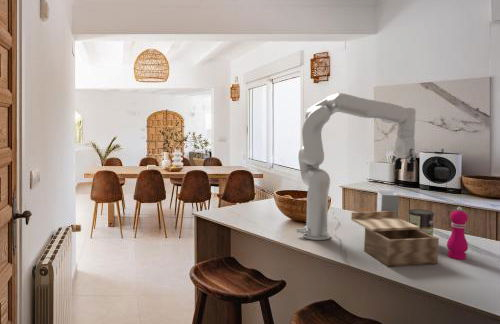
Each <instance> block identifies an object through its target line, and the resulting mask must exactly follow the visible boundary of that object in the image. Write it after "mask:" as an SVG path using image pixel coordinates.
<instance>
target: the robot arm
mask: <svg viewBox="0 0 500 324" xmlns="http://www.w3.org/2000/svg"><path fill="white" fill-rule="evenodd" d="M336 113H343V114H347V115H351V116H355V117H359V118H364V119H365V118H366V119H379V120H381V122H383V123H385V124H397V131H396V132H397V133H396V140H395V142H394V143H395V144H394V151H393V158H394V170H402V163H403V161H402V160H403V159H406V160H407V162H406V172H409V173H410V172H411V173H413V172H414V168H415V162H416V160H417V156H418V153H417V152H416V143H415V133H416V113H417V111H416V109H415V108H413V107H403V106H401V105H398V104H394V103H390V102H385V101H380V100H374V99H368V98H363V97H359V96H355V95H351V94H347V93H343V92H339V93H335V94H331V95H329V96H327V97H326V98H324V99H323V100H321V101H319V102H317V103H315V104H314V105H312V106H310V107H309V108H308V109H307V110H306V112H305V115H304V117H305V118H304V119H305V121H304V122H303V125H302V130H301V137H302V147H300V148H299V151H298V166H299V171H300V176H301V181H302V182H303V183H304V184H305V185H306V186H307V187H308V190H307V195H306V222H305V223H306V225H304V226H303V227H301V228H300V227H297V228H296V229H295V231H296V232H295V233H297V234H298V233H299V234H302V237H303V238H304V239H308V240H313V241H325V240H328V239H331V234H330V232H328V210H329V209H328V208H329V191H330V186H331V178H330V175H329V173H328V172H327V171H326V170H325V169H322V168H320V166H321V165H322V164H323V162H324V161H325V152H324V144H323V141H322V140H323V138H322V130H323V128H324V126H325V125H326V124H327V122H329V120H330V119H331V116H333V115H334V114H336Z"/></svg>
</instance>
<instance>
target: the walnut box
mask: <svg viewBox="0 0 500 324" xmlns="http://www.w3.org/2000/svg"><path fill="white" fill-rule="evenodd" d="M439 242H440V241H439V237H437V236H434V235H433V236H432V235H430V234H427V233H425V232H423V231H420V230H418V229H416V230H393V231H371V230H369V229H367V228H365V227H364V245H363V246H364V247H363V249H364V250H363V251H364V252H365V253H366V254H368V255H370V256H371V257H372V258H374V259H375V260H376V261H378V262H379V263H381V264H382V265H384V266H385V267H387V268H394V267H411V266H413V267H414V266H426V265H438V261H439V260H438V259H439V257H438V256H439Z"/></svg>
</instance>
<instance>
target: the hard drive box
mask: <svg viewBox="0 0 500 324" xmlns="http://www.w3.org/2000/svg"><path fill="white" fill-rule="evenodd" d="M399 199H400V196H399V195H398V194H397V193H396V192H395V191H393V190H379V189H378V190H377V202H376V211H396V217H397V218H399V215H398V214H399V203H400V202H399Z"/></svg>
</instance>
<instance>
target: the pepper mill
mask: <svg viewBox="0 0 500 324" xmlns="http://www.w3.org/2000/svg"><path fill="white" fill-rule="evenodd" d="M449 218H450V219H449V220H450V221H452V222H451V228H452V230H451V234H450V237H449V238H448V240H447V241H446V243H447V244H446V247H447V248H448V251H447V257H448V258H450V259H453V258H454V259H455V260H465V259H467V253H466V252H467V251H468V249H469V244H468V241H467V239H466V235H465V228H466V227H467V224H466V223H467V222H468V221H469V220H468V218H469V216H468V214H467V213H466V212H465V211H463V208H462V207H461V206H458V207H457V208H456V210H453V211H452V212H451V213H450V216H449Z"/></svg>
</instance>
